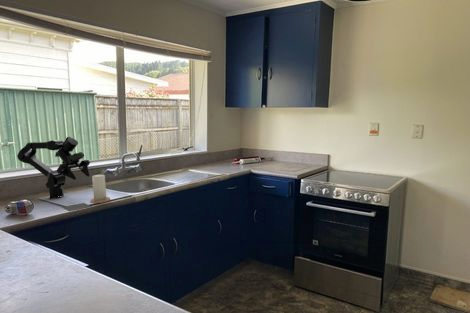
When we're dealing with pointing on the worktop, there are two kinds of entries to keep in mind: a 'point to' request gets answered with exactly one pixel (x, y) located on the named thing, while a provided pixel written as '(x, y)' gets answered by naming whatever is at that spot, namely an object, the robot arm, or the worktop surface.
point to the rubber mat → (76, 206)
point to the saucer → (100, 200)
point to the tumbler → (99, 187)
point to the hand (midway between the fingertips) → (82, 177)
